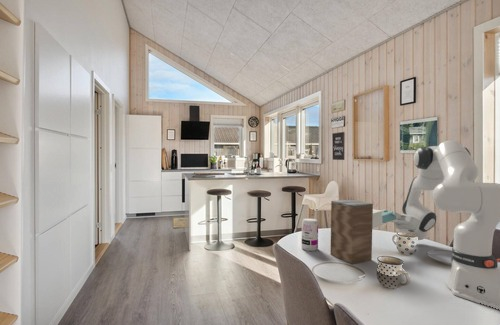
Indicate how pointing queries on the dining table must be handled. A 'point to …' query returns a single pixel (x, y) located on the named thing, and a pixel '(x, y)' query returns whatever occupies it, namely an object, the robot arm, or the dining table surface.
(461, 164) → the robot arm
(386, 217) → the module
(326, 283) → the dining table surface
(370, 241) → the pedestal
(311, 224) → the supplement can
